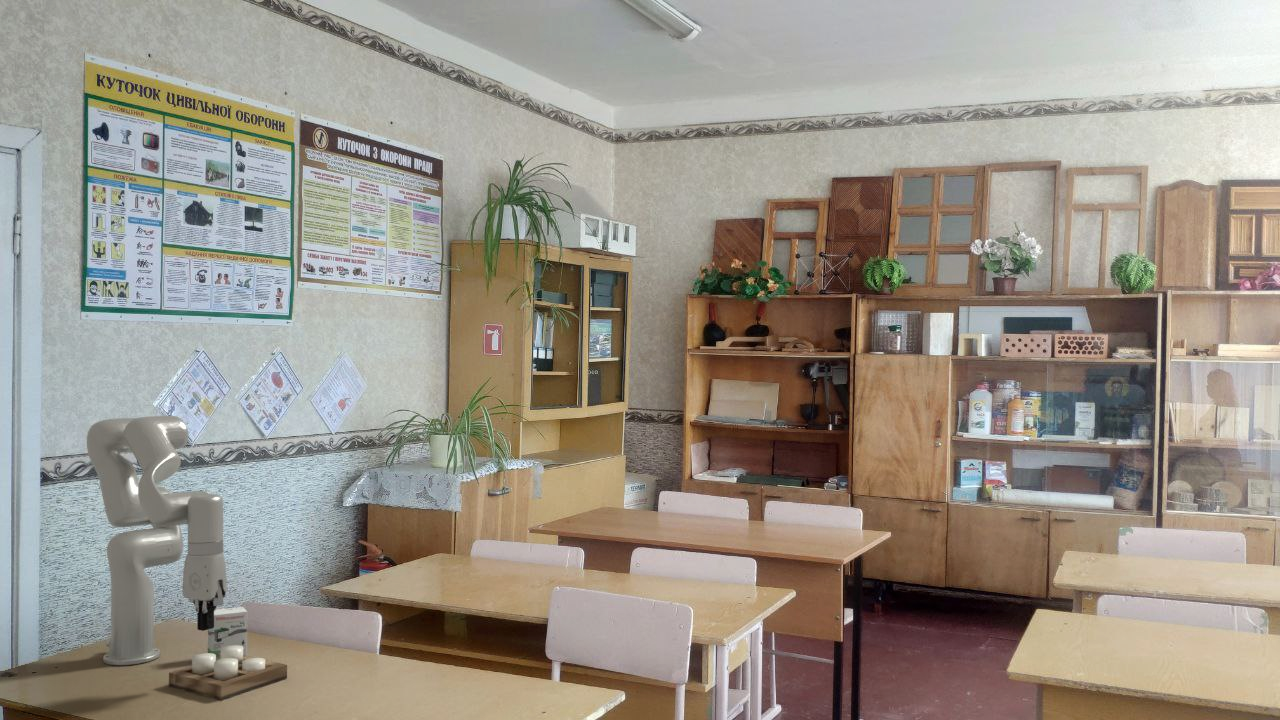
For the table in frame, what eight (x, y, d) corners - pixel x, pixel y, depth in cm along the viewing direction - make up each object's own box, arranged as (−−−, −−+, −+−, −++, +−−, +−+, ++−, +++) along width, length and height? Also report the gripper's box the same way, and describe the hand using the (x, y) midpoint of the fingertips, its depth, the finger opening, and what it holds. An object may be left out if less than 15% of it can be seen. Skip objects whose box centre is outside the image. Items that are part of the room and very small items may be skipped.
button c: (209, 678, 228) (209, 662, 228) (227, 672, 233) (228, 657, 233) (223, 681, 226) (224, 666, 226) (242, 675, 230) (242, 660, 230)
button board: (168, 686, 231) (168, 672, 231) (235, 666, 247) (235, 653, 247) (221, 700, 222) (221, 685, 222) (287, 678, 238) (287, 664, 238)
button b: (215, 664, 239) (215, 649, 239) (233, 658, 243) (233, 644, 243) (229, 667, 236) (230, 652, 236) (247, 662, 241) (247, 647, 241)
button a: (187, 672, 232) (187, 657, 232) (206, 667, 236) (206, 652, 236) (201, 676, 230) (201, 660, 230) (220, 670, 234) (220, 655, 234)
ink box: (211, 662, 250) (211, 614, 250) (207, 657, 254) (207, 610, 254) (247, 657, 254) (248, 610, 254) (243, 652, 259) (243, 606, 259)
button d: (237, 677, 235) (237, 662, 235) (255, 671, 239) (255, 656, 239) (252, 680, 232) (252, 665, 232) (269, 674, 237) (269, 659, 237)
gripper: (170, 548, 233) (170, 629, 233) (213, 553, 226) (213, 636, 226) (198, 543, 240) (198, 621, 240) (241, 548, 233) (241, 629, 232)
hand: (205, 628), depth 233 cm, fingers closed
